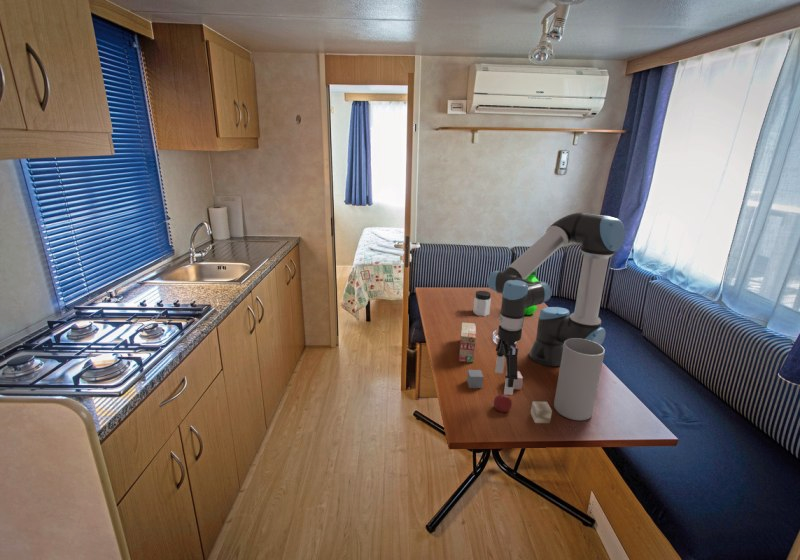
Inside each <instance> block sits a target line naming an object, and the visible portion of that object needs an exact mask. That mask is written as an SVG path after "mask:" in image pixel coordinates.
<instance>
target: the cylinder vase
mask: <svg viewBox="0 0 800 560" xmlns="http://www.w3.org/2000/svg"><path fill="white" fill-rule="evenodd" d="M605 351H606V350H605V348H604V347H603V346H602V344H601V345H600V344H598V343H596V342H593V341H590V340H586V339H581V338H571V339H567V340H565V342H564V347H563V353H562V359H561V365H560V366H559V371H558V372H559V373H558V378H557V383H556V389H555V396H554V399H553V400H554V401H553V408H554V409H555V411H556V412H557V413H558V414H559V415H561V416H562V417H564V418H567V419H569V420H572V421H586V420H588V419H590V418H591V417H592V415H593V411H594V406H595V401H596V396H597V392H598V387H599V382H600V376H601V371H602V367H603V362H604V358H605V357H604V356H605Z"/></svg>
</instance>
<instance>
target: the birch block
mask: <svg viewBox="0 0 800 560" xmlns="http://www.w3.org/2000/svg"><path fill="white" fill-rule="evenodd" d="M552 414H553V410H552V408H551V407H550V405H549V403H548V401H535V400H534V401H533V400H532V401H531V409H530V415H531V418H532V420H533V422H534V423H535V424H550V423H551V419H552Z"/></svg>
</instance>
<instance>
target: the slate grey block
mask: <svg viewBox="0 0 800 560" xmlns="http://www.w3.org/2000/svg"><path fill="white" fill-rule="evenodd" d="M466 378H467V379H466V382H467V385H468V388H469V389H483V383H484V375H483V371H482V370H481V369H467V377H466Z"/></svg>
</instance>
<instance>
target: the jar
mask: <svg viewBox="0 0 800 560" xmlns="http://www.w3.org/2000/svg"><path fill="white" fill-rule="evenodd" d="M491 295H492V294H491V292H490V291H487V290H477V291H476V292H475V296H474V300H473V311H472V312H473V314H475V315H476V316H478V317H479V316H480V317H487V316H488V315H490V314H491V313H490V311H491V302H492V298H491Z"/></svg>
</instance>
